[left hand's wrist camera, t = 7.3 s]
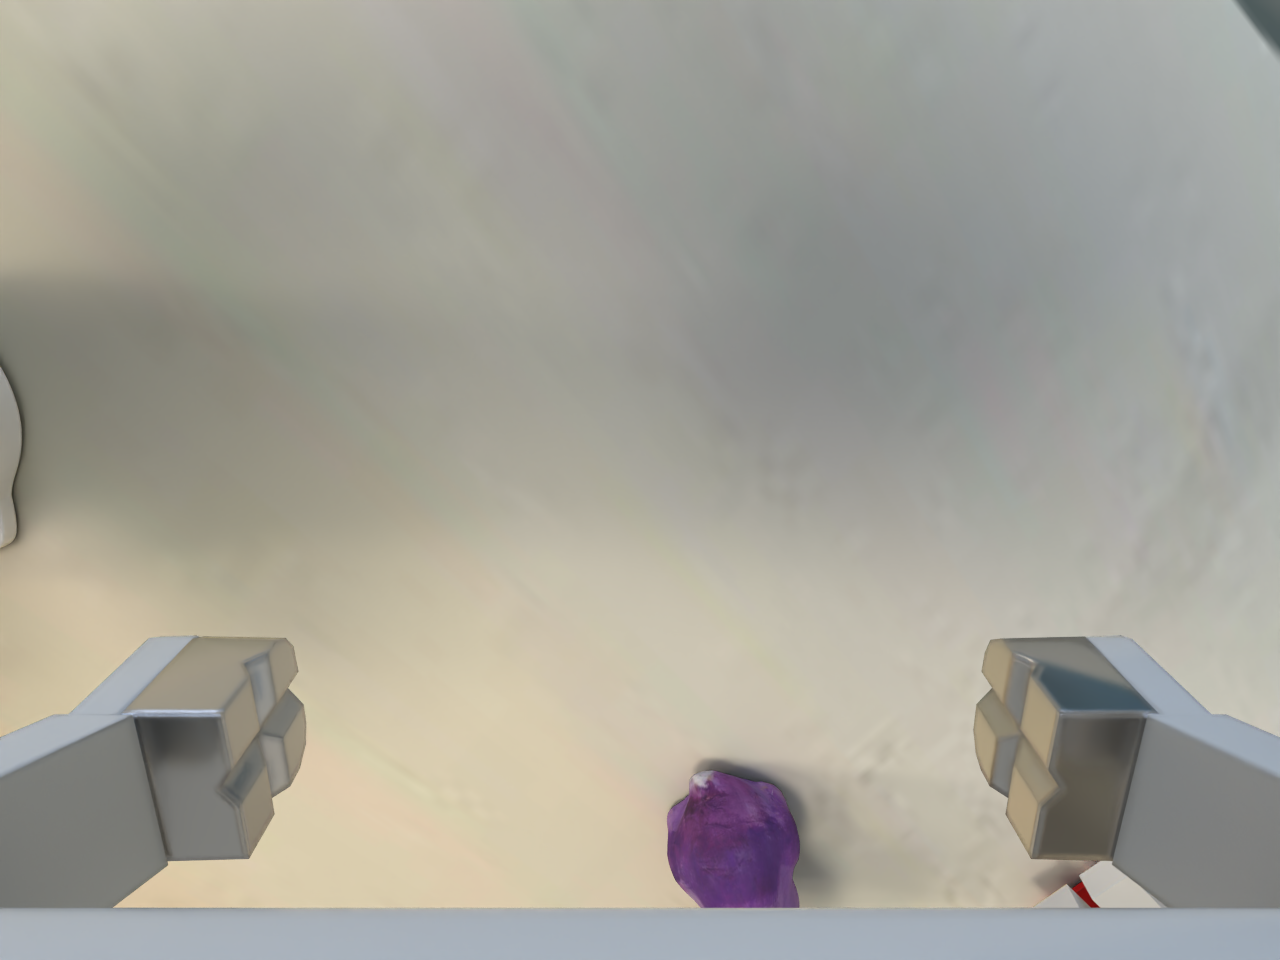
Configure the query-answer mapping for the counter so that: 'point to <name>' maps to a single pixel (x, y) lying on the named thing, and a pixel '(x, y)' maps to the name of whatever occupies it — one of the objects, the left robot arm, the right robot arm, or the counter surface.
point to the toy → (1101, 891)
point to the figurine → (734, 843)
